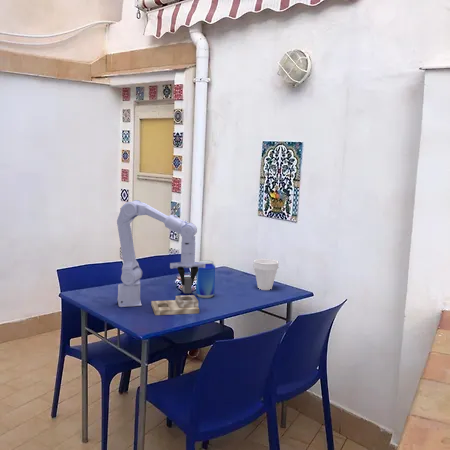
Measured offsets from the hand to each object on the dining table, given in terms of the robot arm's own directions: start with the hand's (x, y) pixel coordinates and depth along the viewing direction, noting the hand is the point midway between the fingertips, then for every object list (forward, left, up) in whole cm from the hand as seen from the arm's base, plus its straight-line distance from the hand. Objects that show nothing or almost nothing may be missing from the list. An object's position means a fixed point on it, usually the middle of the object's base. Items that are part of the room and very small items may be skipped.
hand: (187, 284), depth 215 cm
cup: (+44, +27, -11) cm, 53 cm away
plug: (0, 0, -3) cm, 3 cm away
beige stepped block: (-5, 0, -10) cm, 12 cm away
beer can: (+12, +18, -11) cm, 24 cm away
